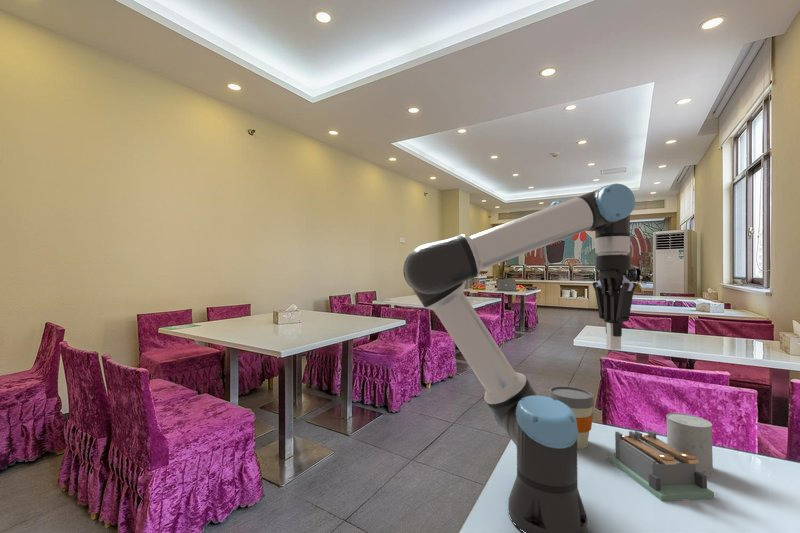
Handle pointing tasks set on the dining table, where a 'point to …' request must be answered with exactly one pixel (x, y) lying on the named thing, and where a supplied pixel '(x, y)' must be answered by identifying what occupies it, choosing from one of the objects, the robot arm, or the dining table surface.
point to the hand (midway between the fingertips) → (613, 348)
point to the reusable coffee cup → (577, 409)
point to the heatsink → (659, 471)
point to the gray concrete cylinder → (692, 438)
